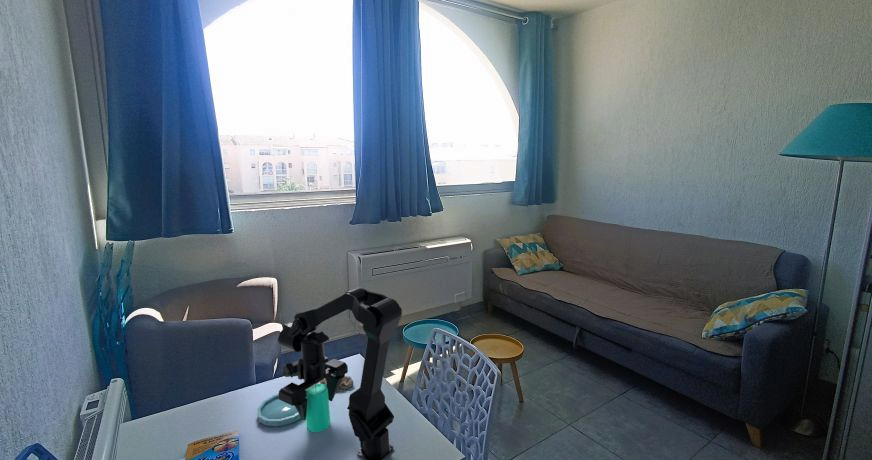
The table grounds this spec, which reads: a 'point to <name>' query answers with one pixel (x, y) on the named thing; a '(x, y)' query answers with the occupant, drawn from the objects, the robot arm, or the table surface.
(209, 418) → the table surface
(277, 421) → the dish
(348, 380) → the mineral rock
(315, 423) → the candle
